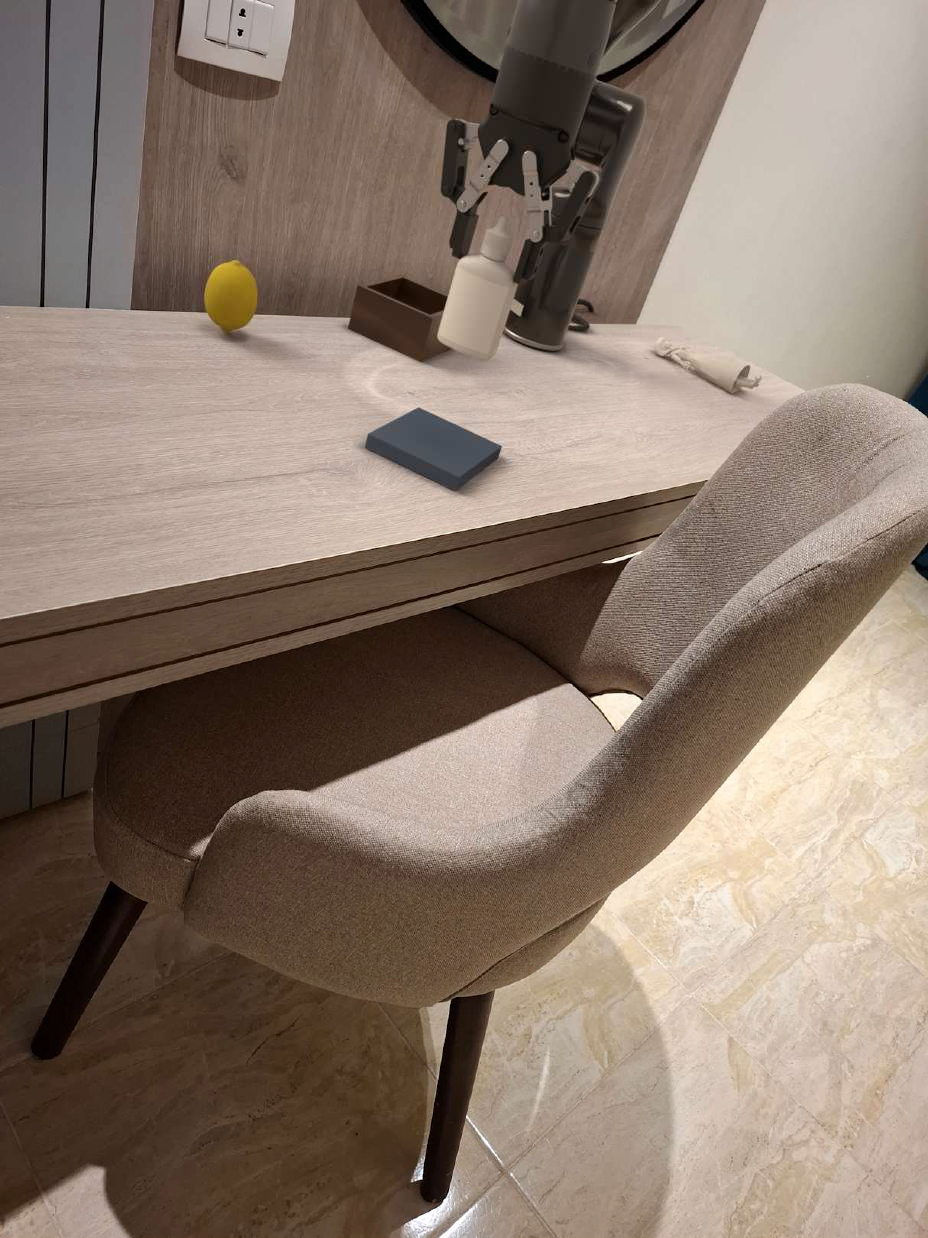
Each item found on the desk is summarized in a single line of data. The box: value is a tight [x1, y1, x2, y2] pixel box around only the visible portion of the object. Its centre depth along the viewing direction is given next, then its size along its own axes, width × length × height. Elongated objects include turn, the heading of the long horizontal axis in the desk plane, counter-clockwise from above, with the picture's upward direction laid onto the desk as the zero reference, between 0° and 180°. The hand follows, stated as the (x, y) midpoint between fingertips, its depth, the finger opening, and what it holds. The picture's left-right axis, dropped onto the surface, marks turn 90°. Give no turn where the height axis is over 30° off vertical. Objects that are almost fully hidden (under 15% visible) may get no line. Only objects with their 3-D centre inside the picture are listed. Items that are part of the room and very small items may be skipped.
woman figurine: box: [653, 336, 762, 394], centre depth 143 cm, size 12×4×18 cm
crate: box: [347, 274, 452, 362], centre depth 115 cm, size 12×11×6 cm
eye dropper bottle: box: [437, 214, 518, 361], centre depth 81 cm, size 4×6×12 cm
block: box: [364, 406, 503, 492], centre depth 90 cm, size 11×10×2 cm
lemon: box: [203, 259, 259, 334], centre depth 98 cm, size 6×6×8 cm
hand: (489, 268), depth 80 cm, fingers closed on eye dropper bottle, 5 cm apart
